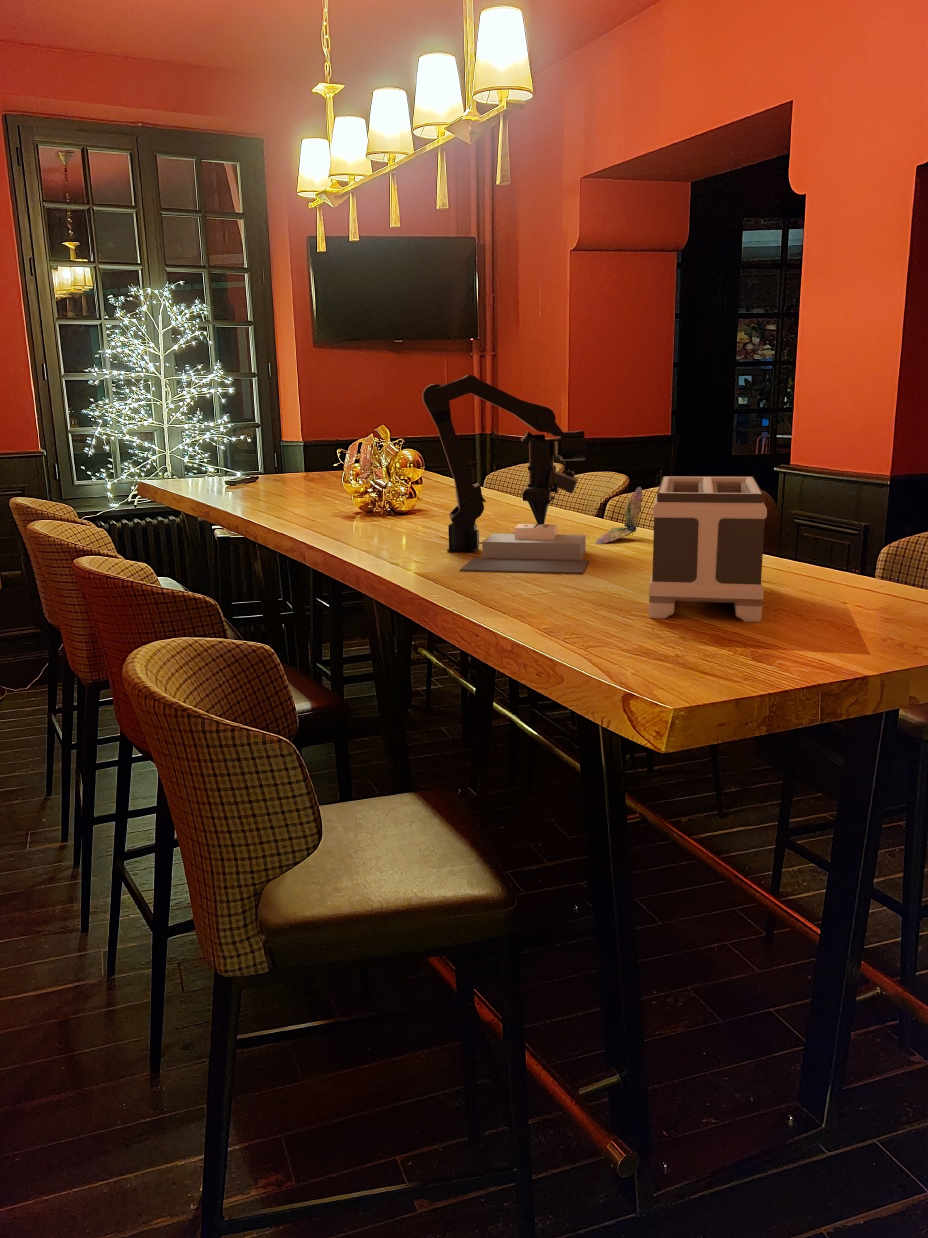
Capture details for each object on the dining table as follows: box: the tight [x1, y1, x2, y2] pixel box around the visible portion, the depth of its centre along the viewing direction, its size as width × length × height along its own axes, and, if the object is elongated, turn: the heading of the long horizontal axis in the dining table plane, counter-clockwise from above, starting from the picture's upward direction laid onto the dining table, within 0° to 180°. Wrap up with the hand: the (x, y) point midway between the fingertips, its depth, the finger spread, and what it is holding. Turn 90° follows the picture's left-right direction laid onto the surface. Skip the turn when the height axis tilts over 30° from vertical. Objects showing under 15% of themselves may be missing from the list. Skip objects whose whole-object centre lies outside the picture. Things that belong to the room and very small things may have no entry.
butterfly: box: [595, 486, 643, 545], centre depth 238 cm, size 17×10×10 cm
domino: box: [514, 523, 558, 539], centre depth 220 cm, size 9×6×3 cm, turn 77°
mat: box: [459, 557, 590, 575], centre depth 206 cm, size 26×14×1 cm, turn 77°
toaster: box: [648, 475, 768, 623], centre depth 171 cm, size 18×34×21 cm, turn 167°
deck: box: [481, 533, 587, 560], centre depth 219 cm, size 22×12×4 cm, turn 77°
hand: (541, 527), depth 228 cm, fingers closed
